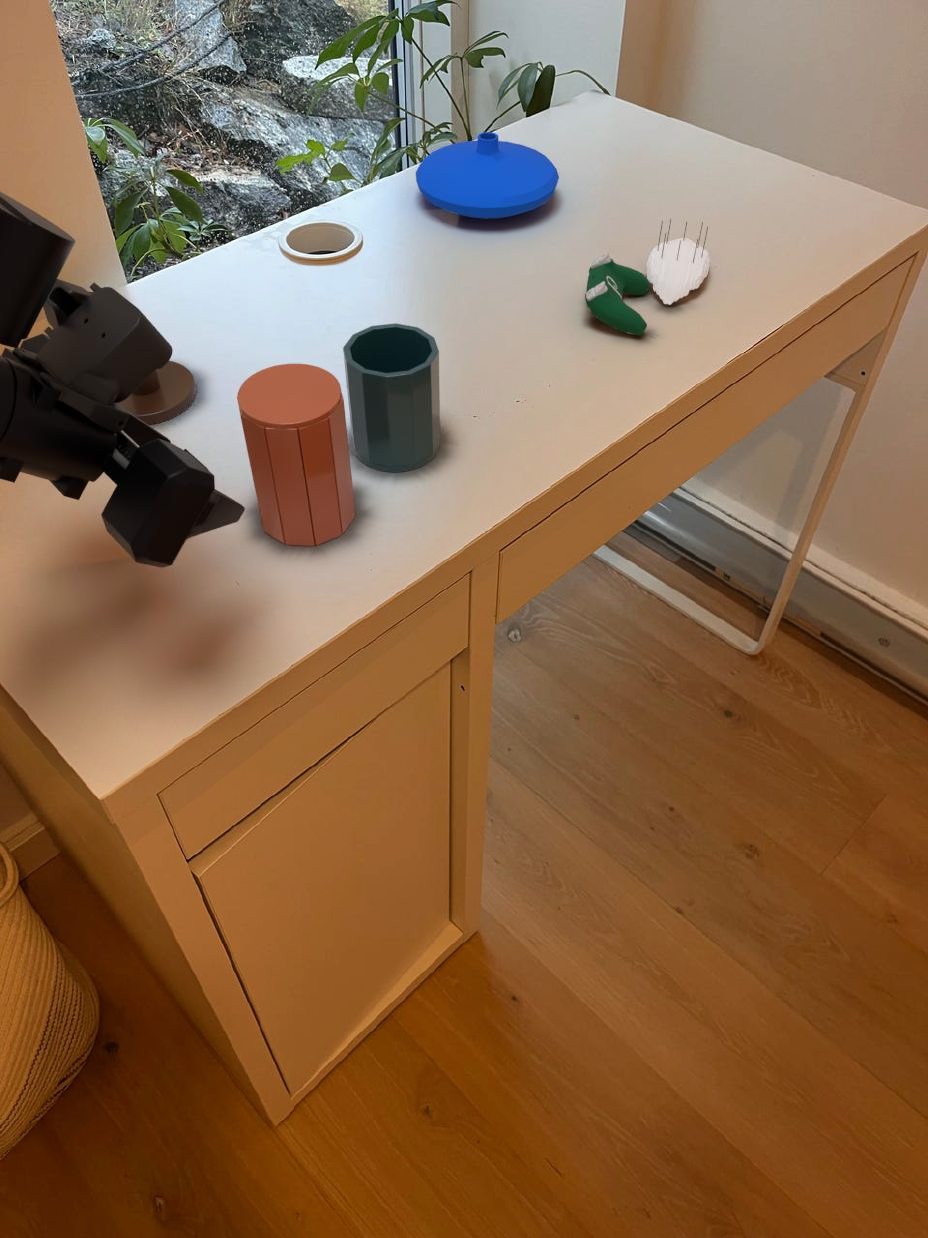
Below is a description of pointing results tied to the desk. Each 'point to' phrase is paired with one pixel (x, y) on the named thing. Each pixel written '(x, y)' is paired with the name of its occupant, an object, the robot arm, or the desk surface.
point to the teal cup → (393, 396)
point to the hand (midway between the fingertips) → (202, 479)
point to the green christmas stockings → (615, 294)
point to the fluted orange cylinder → (298, 452)
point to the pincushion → (677, 267)
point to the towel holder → (162, 394)
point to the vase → (487, 178)
